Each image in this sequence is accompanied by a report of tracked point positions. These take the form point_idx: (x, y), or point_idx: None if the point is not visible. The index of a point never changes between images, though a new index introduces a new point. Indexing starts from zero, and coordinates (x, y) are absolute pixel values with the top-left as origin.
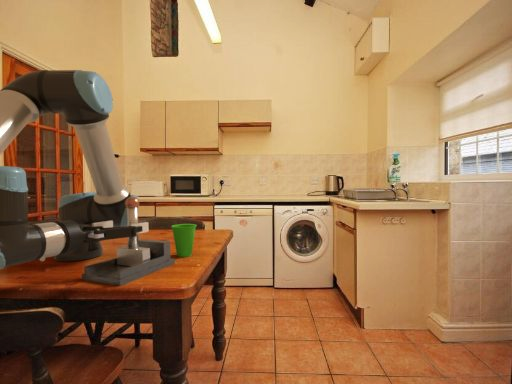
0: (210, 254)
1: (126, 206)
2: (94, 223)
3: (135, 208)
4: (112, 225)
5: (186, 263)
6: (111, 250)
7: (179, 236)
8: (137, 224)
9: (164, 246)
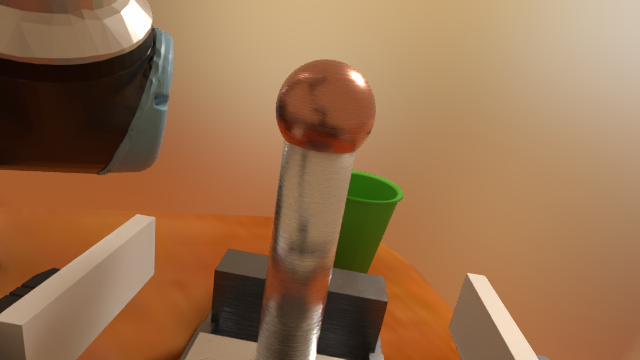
0: (407, 268)
1: (307, 137)
2: (30, 321)
3: (354, 153)
4: (151, 250)
5: (415, 345)
6: (30, 234)
7: (360, 229)
8: (531, 355)
9: (383, 313)
